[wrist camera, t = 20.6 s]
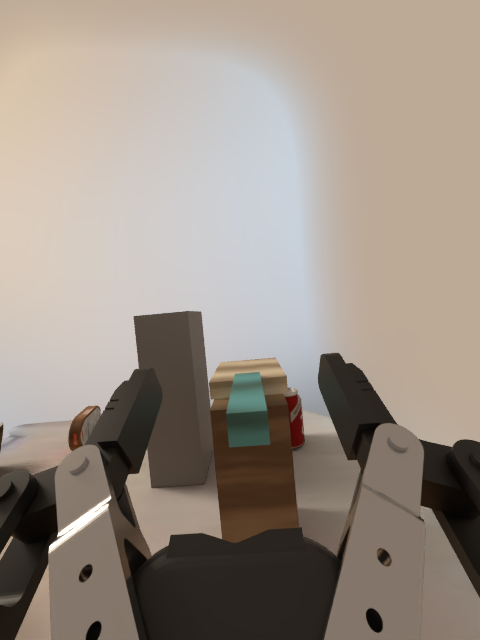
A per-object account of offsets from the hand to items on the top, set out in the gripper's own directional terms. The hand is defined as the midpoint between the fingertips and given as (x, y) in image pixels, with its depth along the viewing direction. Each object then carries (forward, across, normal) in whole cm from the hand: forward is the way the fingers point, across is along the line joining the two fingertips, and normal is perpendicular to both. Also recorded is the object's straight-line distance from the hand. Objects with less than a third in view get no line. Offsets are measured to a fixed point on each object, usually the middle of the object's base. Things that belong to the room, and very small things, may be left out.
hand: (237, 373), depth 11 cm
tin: (+28, +45, +49) cm, 73 cm away
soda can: (+22, -8, +45) cm, 51 cm away
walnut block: (+2, 0, +33) cm, 33 cm away
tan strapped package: (+10, 0, +14) cm, 17 cm away
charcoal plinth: (+17, +15, +42) cm, 48 cm away
